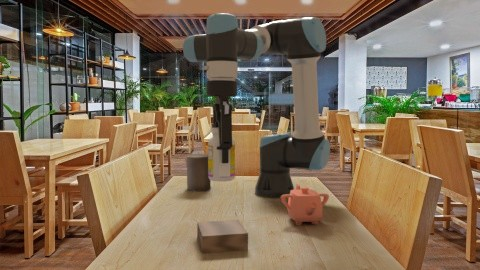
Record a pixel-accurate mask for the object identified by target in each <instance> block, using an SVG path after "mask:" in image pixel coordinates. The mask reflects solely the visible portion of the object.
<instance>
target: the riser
mask: <svg viewBox="0 0 480 270" xmlns="http://www.w3.org/2000/svg"><path fill="white" fill-rule="evenodd" d="M196 226H197V227H196V229H197V231H196V232H197V234H196V236H197V241H198V243H199V246H200V249H201V251H202V253H203V254H205V253H217V252H230V251H231V252H233V251H244V250H245V251H246V250H249V232H248V231H247V229H246V228H245V227H244V226H243V224H242V223H241V221H240V220H239V219H233V220H218V221H217V220H216V221H215V220H214V221H197V224H196Z"/></svg>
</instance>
